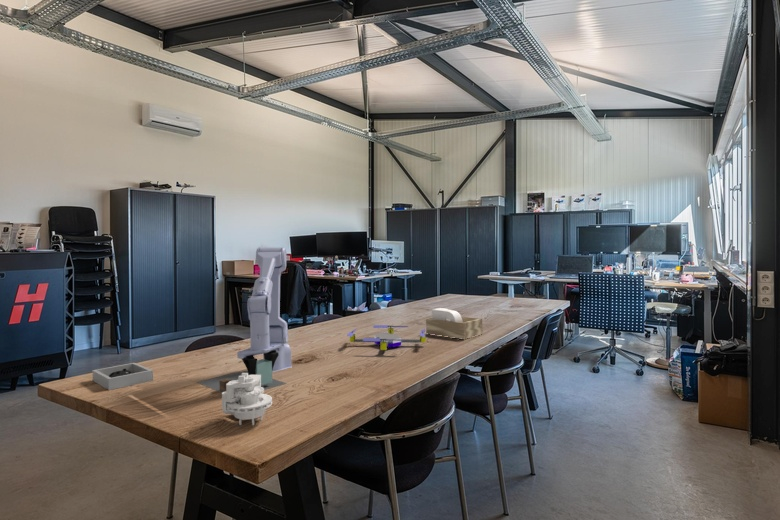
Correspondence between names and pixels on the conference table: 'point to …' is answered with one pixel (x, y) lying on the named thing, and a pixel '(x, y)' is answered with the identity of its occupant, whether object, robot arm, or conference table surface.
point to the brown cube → (223, 384)
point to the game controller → (119, 373)
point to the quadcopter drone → (387, 338)
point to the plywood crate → (455, 327)
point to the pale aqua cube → (264, 370)
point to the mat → (215, 384)
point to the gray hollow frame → (135, 377)
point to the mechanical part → (245, 398)
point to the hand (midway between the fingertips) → (260, 377)
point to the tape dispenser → (446, 315)
